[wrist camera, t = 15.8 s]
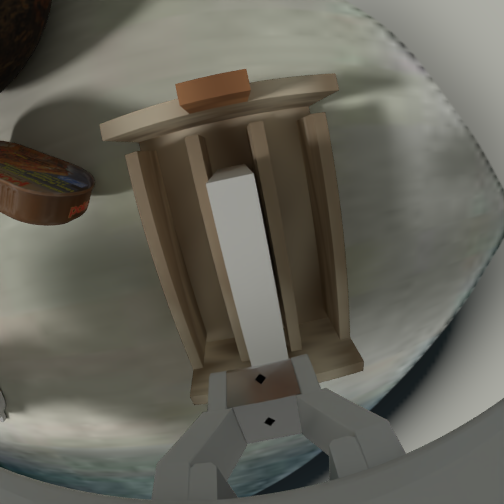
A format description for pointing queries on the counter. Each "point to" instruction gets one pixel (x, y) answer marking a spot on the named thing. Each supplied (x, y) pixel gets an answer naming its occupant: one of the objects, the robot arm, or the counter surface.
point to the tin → (41, 186)
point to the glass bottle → (19, 34)
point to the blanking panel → (248, 262)
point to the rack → (272, 208)
